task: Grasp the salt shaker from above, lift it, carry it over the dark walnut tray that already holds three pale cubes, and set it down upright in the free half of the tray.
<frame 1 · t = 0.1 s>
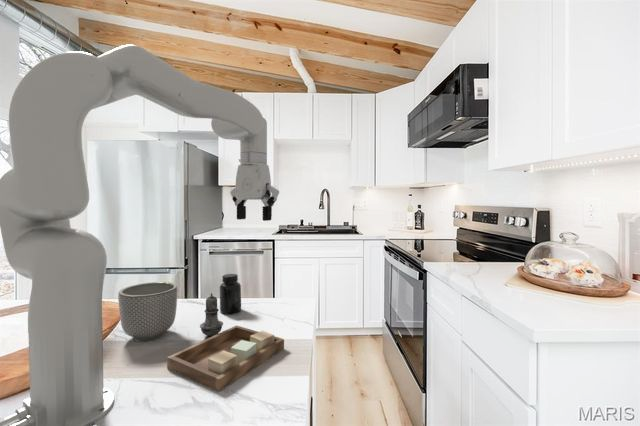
hand: (253, 219, 90), 31 cm above the countertop, fingers open, 9 cm apart
tray: (229, 360, 71), on the countertop
planter: (149, 336, 83), on the countertop
salt shaker: (211, 338, 83), on the countertop
cube a: (222, 376, 63), point 1 cm above the countertop, touching tray
cube b: (243, 363, 69), point 1 cm above the countertop, touching tray
cube c: (262, 351, 74), point 1 cm above the countertop, touching tray
supplement bottle: (230, 311, 103), on the countertop
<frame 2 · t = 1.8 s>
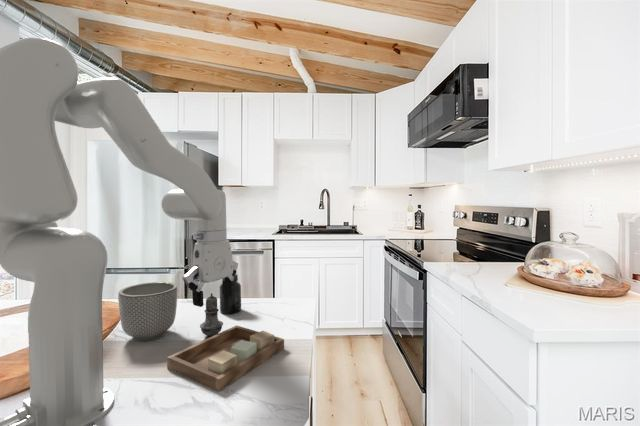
hand: (213, 299, 83), 10 cm above the countertop, fingers open, 9 cm apart
nothing on the countertop moved.
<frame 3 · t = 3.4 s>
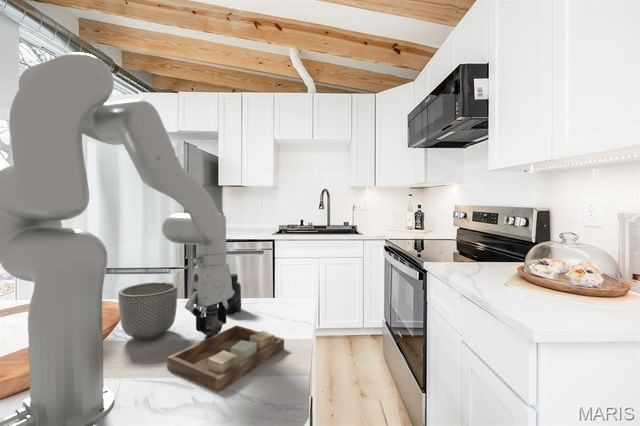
hand: (211, 326, 83), 3 cm above the countertop, fingers closed on salt shaker, 5 cm apart
salt shaker: (211, 338, 83), on the countertop, touching gripper
everything else where it was.
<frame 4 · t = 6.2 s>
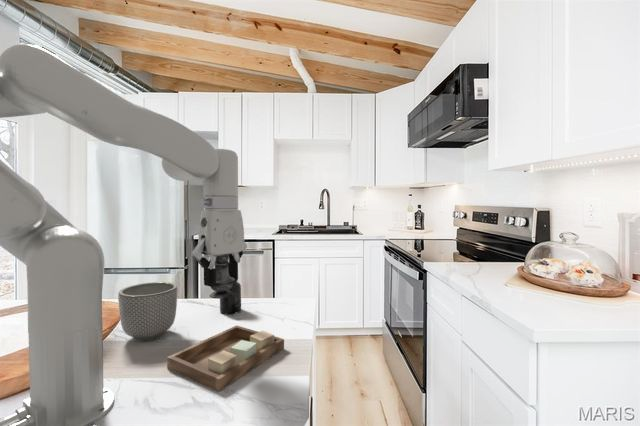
hand: (221, 281, 72), 18 cm above the countertop, fingers closed on salt shaker, 5 cm apart
salt shaker: (221, 295, 72), point 15 cm above the countertop, touching gripper
everything else where it was.
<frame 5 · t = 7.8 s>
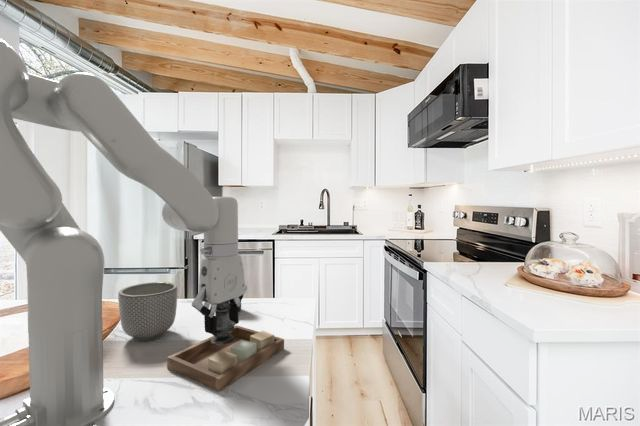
hand: (222, 326, 72), 7 cm above the countertop, fingers closed on salt shaker, 5 cm apart
salt shaker: (222, 340, 72), point 4 cm above the countertop, touching gripper
everything else where it was.
when the fingers open (5 cm above the countertop, at t = 9.2 s): salt shaker drops 1 cm, resting on tray.
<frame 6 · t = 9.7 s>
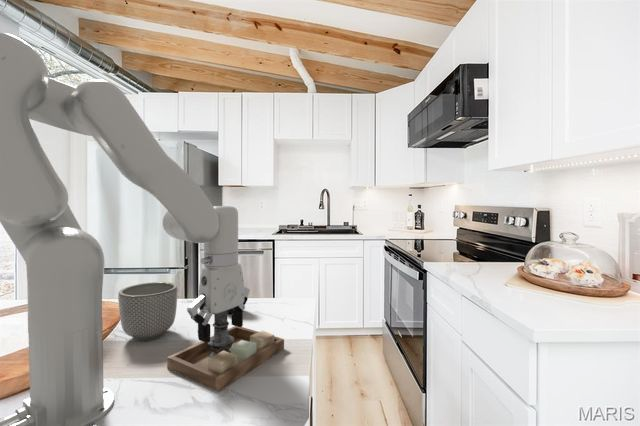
hand: (221, 332, 72), 6 cm above the countertop, fingers open, 9 cm apart
salt shaker: (221, 356, 72), resting on tray
everything else where it was.
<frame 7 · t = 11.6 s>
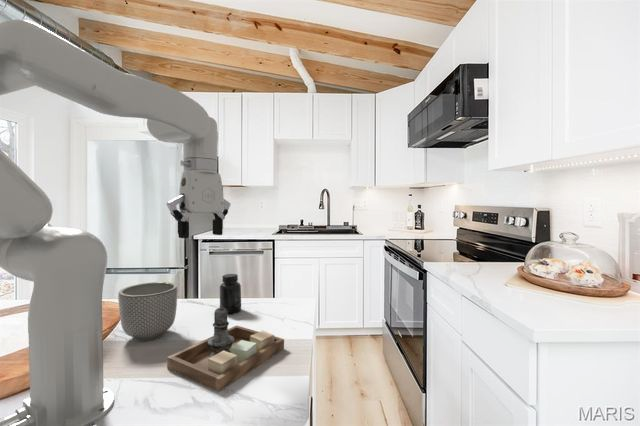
hand: (201, 236, 77), 28 cm above the countertop, fingers open, 9 cm apart
nothing on the countertop moved.
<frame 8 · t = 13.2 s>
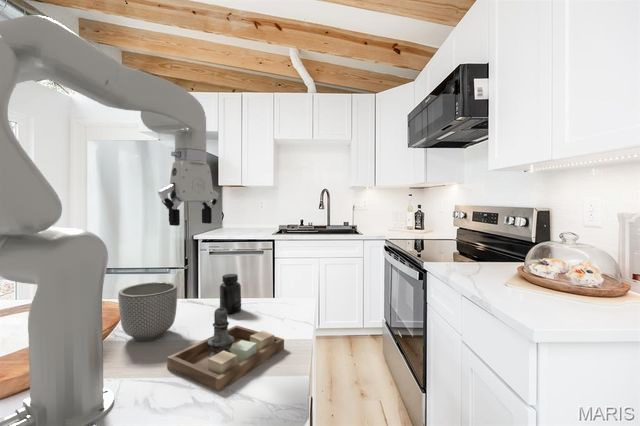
hand: (191, 224, 81), 30 cm above the countertop, fingers open, 9 cm apart
nothing on the countertop moved.
at the end: salt shaker inside the target area on the tray (2.5 cm from its centre), point 0.4 cm above the tray's base; salt shaker tilted 0°; the gripper is holding nothing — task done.
